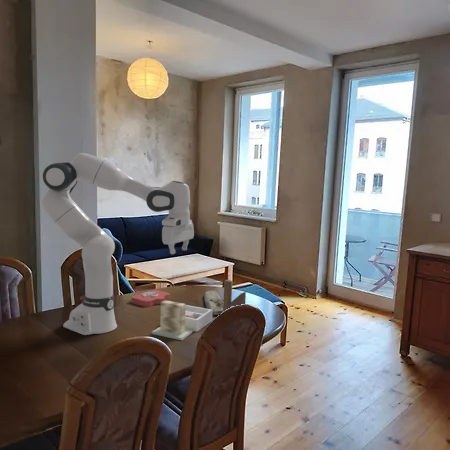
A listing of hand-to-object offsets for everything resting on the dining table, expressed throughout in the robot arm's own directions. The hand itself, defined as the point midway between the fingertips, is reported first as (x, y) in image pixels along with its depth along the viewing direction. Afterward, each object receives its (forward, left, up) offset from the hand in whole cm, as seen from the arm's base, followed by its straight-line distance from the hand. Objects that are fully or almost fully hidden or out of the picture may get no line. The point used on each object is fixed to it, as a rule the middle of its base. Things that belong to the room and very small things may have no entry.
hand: (178, 251), depth 178 cm
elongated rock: (+2, +34, -33) cm, 47 cm away
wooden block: (+19, +18, -33) cm, 42 cm away
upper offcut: (+3, +1, -30) cm, 30 cm away
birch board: (+3, -9, -32) cm, 33 cm away
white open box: (+3, +5, -33) cm, 33 cm away
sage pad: (+3, -9, -33) cm, 34 cm away
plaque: (-28, +23, -33) cm, 49 cm away
